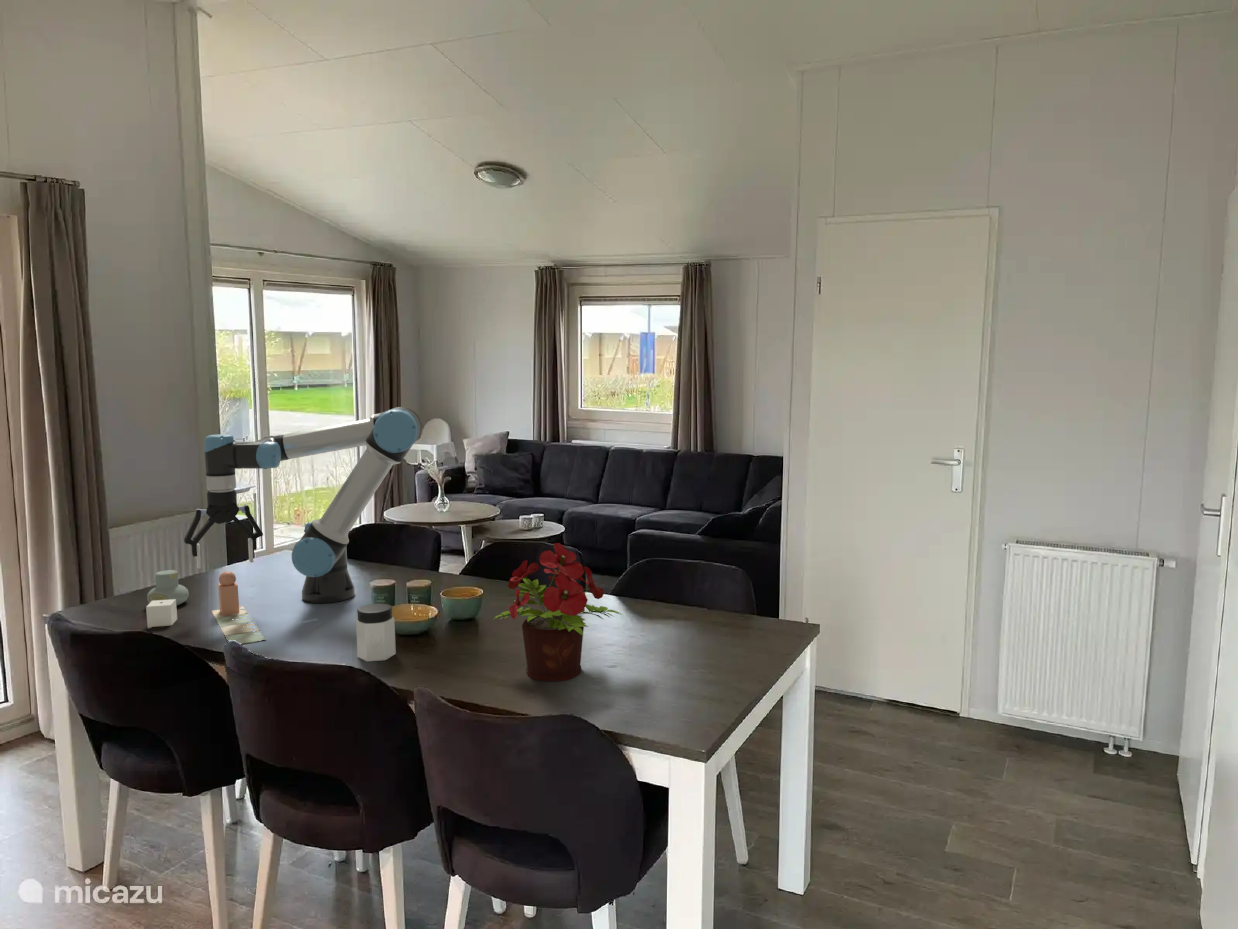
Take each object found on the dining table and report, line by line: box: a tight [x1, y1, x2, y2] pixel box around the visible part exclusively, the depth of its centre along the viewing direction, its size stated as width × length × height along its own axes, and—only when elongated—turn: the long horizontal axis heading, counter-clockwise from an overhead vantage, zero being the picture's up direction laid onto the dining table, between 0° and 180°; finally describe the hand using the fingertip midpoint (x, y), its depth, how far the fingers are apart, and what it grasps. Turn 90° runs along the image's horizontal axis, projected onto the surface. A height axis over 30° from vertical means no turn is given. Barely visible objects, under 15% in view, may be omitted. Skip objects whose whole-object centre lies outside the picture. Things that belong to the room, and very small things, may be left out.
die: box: [145, 599, 178, 629], centre depth 243 cm, size 6×6×6 cm
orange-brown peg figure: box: [217, 570, 240, 615], centre depth 252 cm, size 4×4×12 cm
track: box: [211, 605, 267, 645], centre depth 241 cm, size 8×36×1 cm, turn 31°
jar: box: [355, 603, 397, 663], centre depth 216 cm, size 9×8×12 cm
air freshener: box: [146, 569, 190, 607], centre depth 260 cm, size 11×8×10 cm
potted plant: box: [491, 542, 622, 682], centre depth 205 cm, size 30×27×30 cm
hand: (225, 564), depth 251 cm, fingers open, 13 cm apart
